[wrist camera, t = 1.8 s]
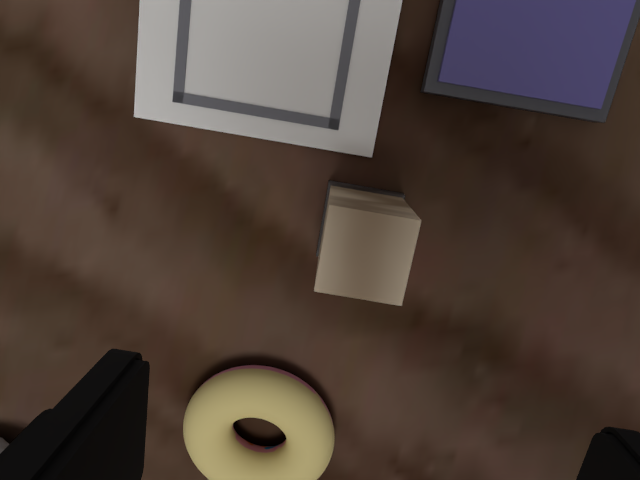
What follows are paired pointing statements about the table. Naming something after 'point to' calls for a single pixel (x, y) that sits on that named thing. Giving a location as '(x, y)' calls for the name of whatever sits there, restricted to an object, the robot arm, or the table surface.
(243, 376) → the donut
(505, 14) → the ink pad
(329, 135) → the sheet
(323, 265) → the beige cardboard box
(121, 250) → the table surface
